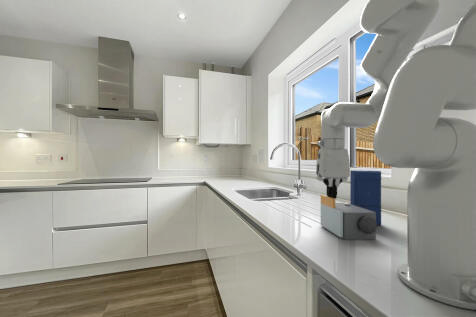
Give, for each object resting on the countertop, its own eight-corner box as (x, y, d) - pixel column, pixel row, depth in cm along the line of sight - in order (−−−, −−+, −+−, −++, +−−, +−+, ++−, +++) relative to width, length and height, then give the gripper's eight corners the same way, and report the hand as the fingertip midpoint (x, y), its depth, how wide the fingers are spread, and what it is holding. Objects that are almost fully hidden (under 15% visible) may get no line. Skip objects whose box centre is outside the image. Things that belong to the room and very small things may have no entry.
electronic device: (374, 221, 79) (374, 170, 79) (382, 225, 74) (382, 171, 74) (349, 220, 80) (349, 170, 80) (355, 224, 75) (355, 170, 75)
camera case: (380, 240, 60) (380, 211, 60) (348, 241, 59) (348, 212, 59) (346, 224, 75) (347, 201, 75) (321, 224, 74) (321, 201, 74)
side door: (342, 237, 61) (343, 201, 61) (340, 237, 61) (340, 201, 61) (322, 224, 73) (322, 194, 73) (320, 224, 72) (320, 194, 73)
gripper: (317, 143, 65) (316, 200, 66) (360, 144, 67) (359, 200, 67) (307, 145, 73) (306, 195, 73) (346, 146, 74) (345, 195, 74)
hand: (331, 197), depth 70 cm, fingers closed
